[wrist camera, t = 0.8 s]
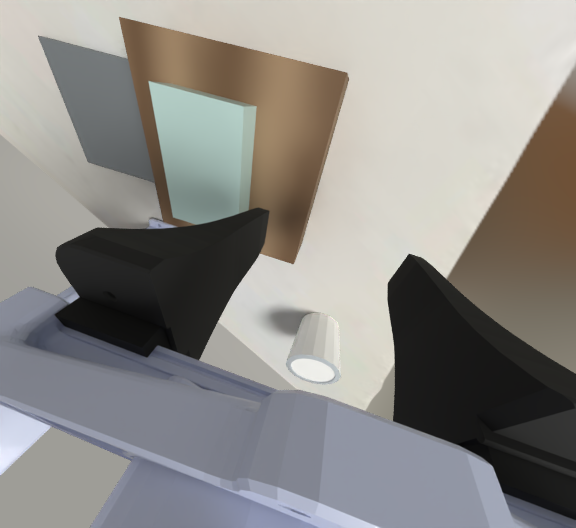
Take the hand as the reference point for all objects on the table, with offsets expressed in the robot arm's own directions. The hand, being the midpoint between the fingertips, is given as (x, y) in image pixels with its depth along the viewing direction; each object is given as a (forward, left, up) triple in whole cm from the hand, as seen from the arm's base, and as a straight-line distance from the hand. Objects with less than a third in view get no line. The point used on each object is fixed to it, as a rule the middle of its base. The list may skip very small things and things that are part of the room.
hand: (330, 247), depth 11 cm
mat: (-22, 0, -10) cm, 24 cm away
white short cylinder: (+4, -20, -11) cm, 23 cm away
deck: (-9, 0, -10) cm, 14 cm away
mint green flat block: (-10, 0, -6) cm, 12 cm away
